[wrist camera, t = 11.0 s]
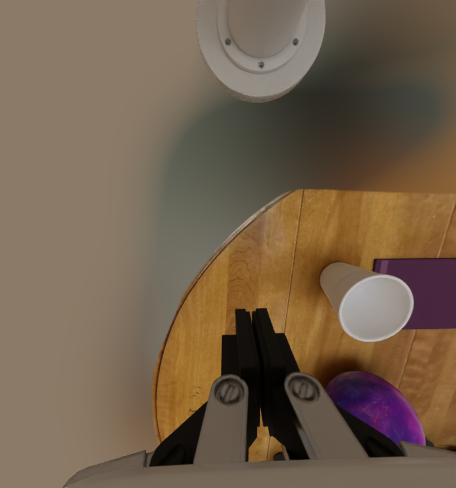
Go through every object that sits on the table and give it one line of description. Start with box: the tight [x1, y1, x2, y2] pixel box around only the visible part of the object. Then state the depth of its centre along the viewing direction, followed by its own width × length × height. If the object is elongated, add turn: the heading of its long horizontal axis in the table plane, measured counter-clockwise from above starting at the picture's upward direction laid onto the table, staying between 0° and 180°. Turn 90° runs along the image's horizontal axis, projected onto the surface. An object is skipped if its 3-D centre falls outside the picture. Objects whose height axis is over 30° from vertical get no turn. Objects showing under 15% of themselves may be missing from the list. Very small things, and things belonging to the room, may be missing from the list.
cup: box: [320, 262, 414, 342], centre depth 34 cm, size 10×10×11 cm
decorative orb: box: [325, 371, 426, 446], centre depth 38 cm, size 15×15×15 cm
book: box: [373, 258, 456, 329], centre depth 41 cm, size 14×18×1 cm
